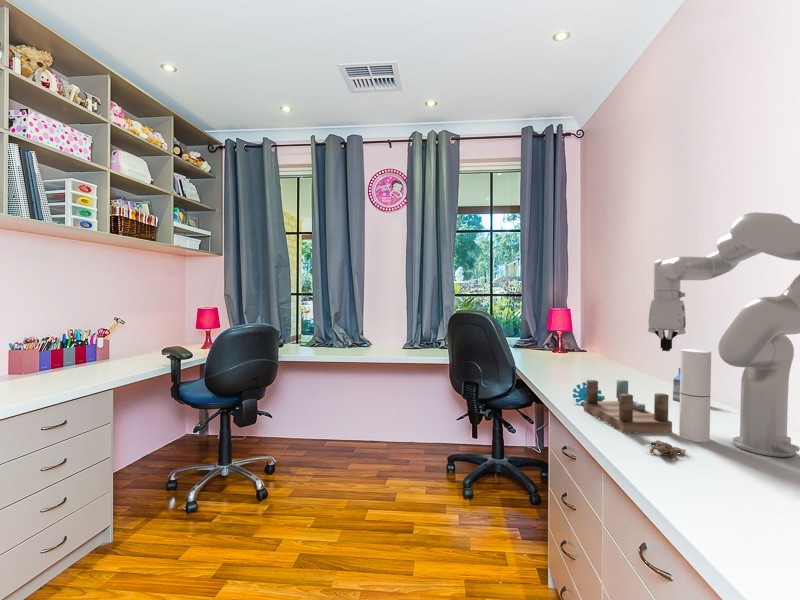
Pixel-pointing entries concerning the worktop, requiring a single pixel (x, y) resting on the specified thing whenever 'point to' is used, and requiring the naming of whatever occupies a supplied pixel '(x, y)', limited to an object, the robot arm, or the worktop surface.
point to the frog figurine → (666, 448)
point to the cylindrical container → (695, 395)
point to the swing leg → (623, 389)
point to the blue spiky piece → (584, 394)
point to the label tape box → (676, 387)
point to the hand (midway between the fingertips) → (666, 350)
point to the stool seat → (628, 412)
